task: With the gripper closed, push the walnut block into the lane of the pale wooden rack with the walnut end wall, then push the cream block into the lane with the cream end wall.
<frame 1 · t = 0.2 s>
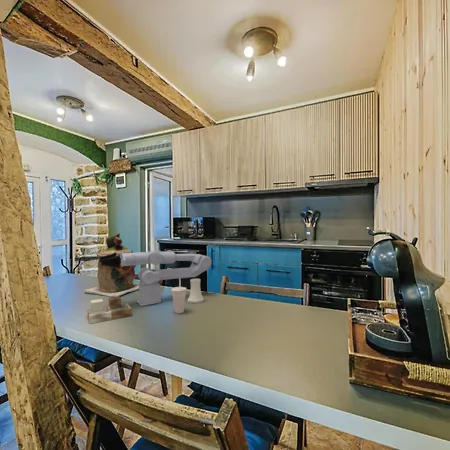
hand: (100, 261, 117), 21 cm above the table, tool horizontal, fingers open, 7 cm apart
smoothie: (179, 312, 114), on the table
walnut block: (115, 307, 122), on the table
vase: (195, 301, 129), on the table
cookie jar: (117, 290, 152), on the table
lane rack: (109, 316, 110), on the table
cream block: (97, 310, 118), on the table
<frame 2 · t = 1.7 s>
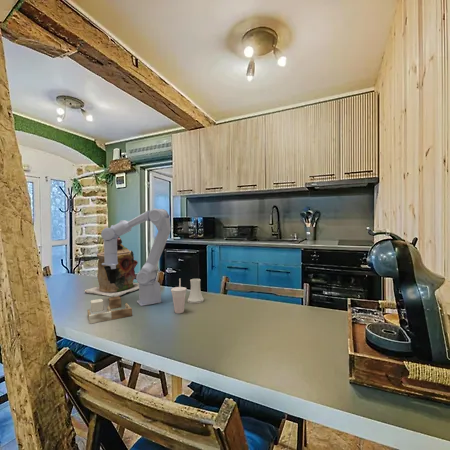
hand: (111, 282, 129), 9 cm above the table, tool pointing down, fingers open, 6 cm apart
nothing on the table moved.
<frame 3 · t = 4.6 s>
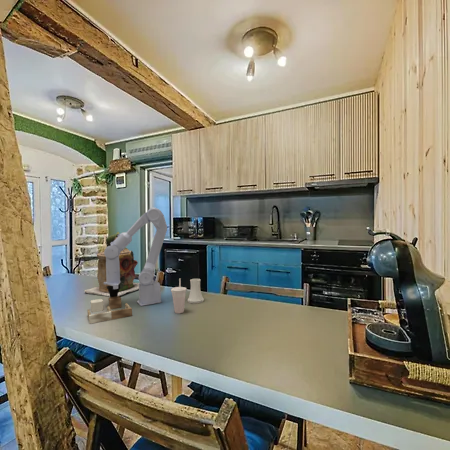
hand: (113, 301, 125), 2 cm above the table, tool pointing down, fingers closed
walnut block: (115, 306, 122), on the table, touching gripper
everything else where it was.
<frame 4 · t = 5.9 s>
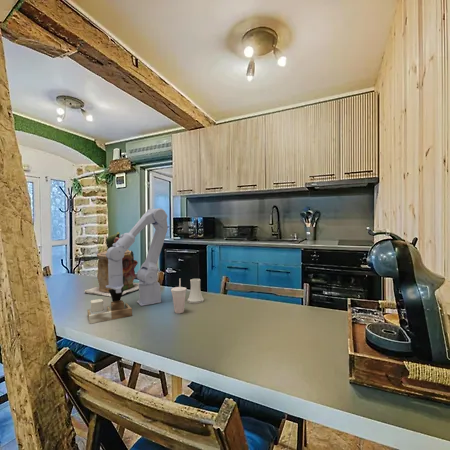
hand: (116, 305, 118), 2 cm above the table, tool pointing down, fingers closed
walnut block: (117, 311, 115), on the table, touching gripper
everything else where it was.
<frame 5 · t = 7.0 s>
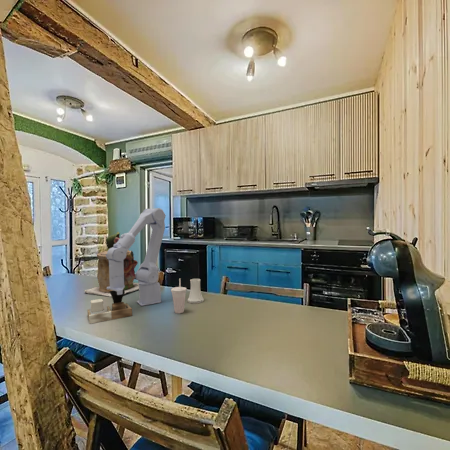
hand: (117, 307, 116), 2 cm above the table, tool pointing down, fingers closed
walnut block: (118, 313, 113), on the table, touching gripper
everything else where it was.
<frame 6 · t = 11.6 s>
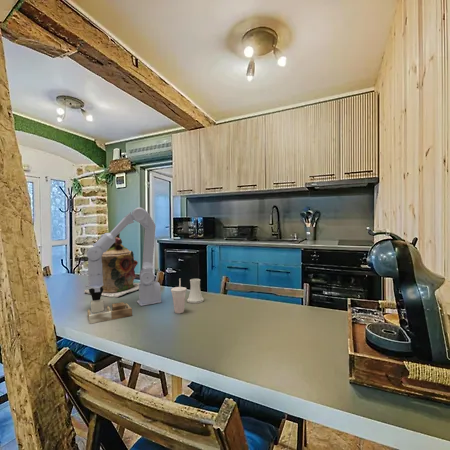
hand: (96, 304, 120), 2 cm above the table, tool pointing down, fingers closed
walnut block: (118, 314, 113), on the table
cream block: (97, 310, 117), on the table, touching gripper
everything else where it was.
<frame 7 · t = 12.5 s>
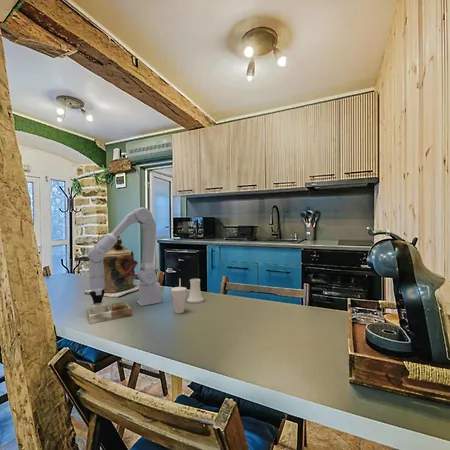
hand: (97, 308, 116), 2 cm above the table, tool pointing down, fingers closed
cream block: (98, 314, 113), on the table, touching gripper
everything else where it was.
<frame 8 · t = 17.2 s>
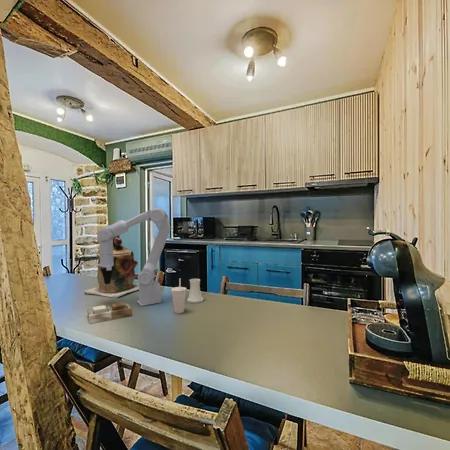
hand: (107, 283, 126), 9 cm above the table, tool pointing down, fingers closed
cream block: (99, 317, 109), on the table
at the end: walnut block 1.1 cm from the target spot, on the table; cream block 1.2 cm from the target spot, on the table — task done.
